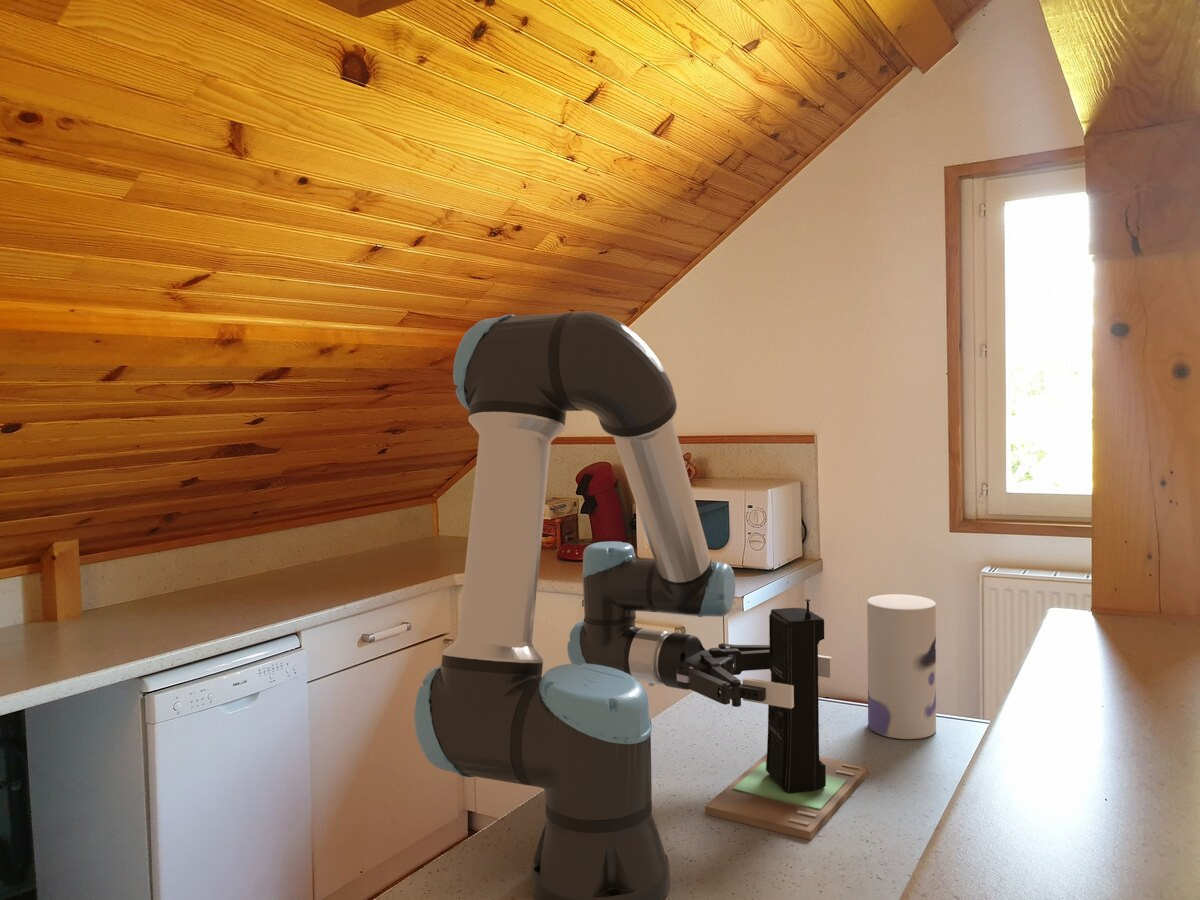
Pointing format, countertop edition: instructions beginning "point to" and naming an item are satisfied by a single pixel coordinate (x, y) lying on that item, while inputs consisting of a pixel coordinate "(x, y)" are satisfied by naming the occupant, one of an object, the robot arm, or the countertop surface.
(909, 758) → the countertop surface
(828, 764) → the board
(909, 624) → the container
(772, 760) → the portable radio
